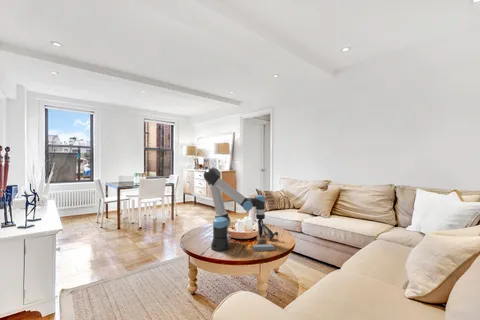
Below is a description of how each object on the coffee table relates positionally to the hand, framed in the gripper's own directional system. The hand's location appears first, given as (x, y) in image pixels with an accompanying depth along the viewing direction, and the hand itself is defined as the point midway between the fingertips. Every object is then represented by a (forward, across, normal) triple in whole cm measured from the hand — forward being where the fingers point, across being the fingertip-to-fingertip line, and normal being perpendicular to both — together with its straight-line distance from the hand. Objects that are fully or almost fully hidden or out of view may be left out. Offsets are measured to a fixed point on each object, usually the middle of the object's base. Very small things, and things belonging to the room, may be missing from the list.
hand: (260, 241), depth 201 cm
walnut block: (+1, -6, 0) cm, 6 cm away
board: (+1, -14, 0) cm, 14 cm away
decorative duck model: (+1, +7, -12) cm, 14 cm away
